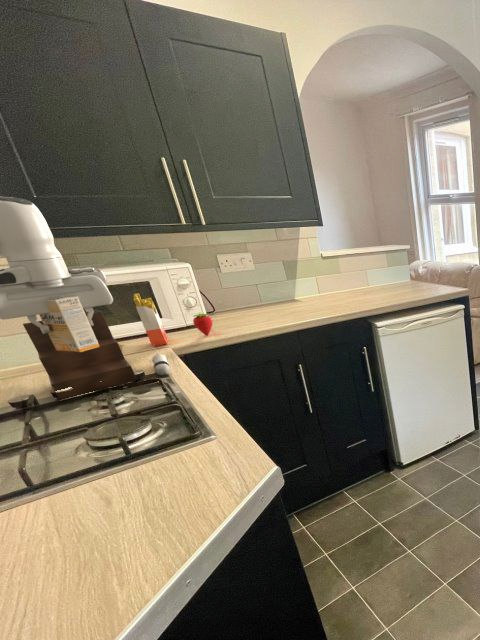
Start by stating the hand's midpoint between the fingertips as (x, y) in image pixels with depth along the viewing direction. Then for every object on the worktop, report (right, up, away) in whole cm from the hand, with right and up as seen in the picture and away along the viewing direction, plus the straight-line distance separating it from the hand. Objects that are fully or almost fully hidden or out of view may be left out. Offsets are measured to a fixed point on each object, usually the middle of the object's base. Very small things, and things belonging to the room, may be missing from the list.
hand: (68, 329), depth 103 cm
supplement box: (0, -5, +2) cm, 5 cm away
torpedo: (+2, -9, +25) cm, 27 cm away
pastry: (-32, -3, +42) cm, 53 cm away
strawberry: (-8, +5, +58) cm, 59 cm away
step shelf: (-9, -13, +16) cm, 23 cm away
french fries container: (-19, +1, +50) cm, 54 cm away
